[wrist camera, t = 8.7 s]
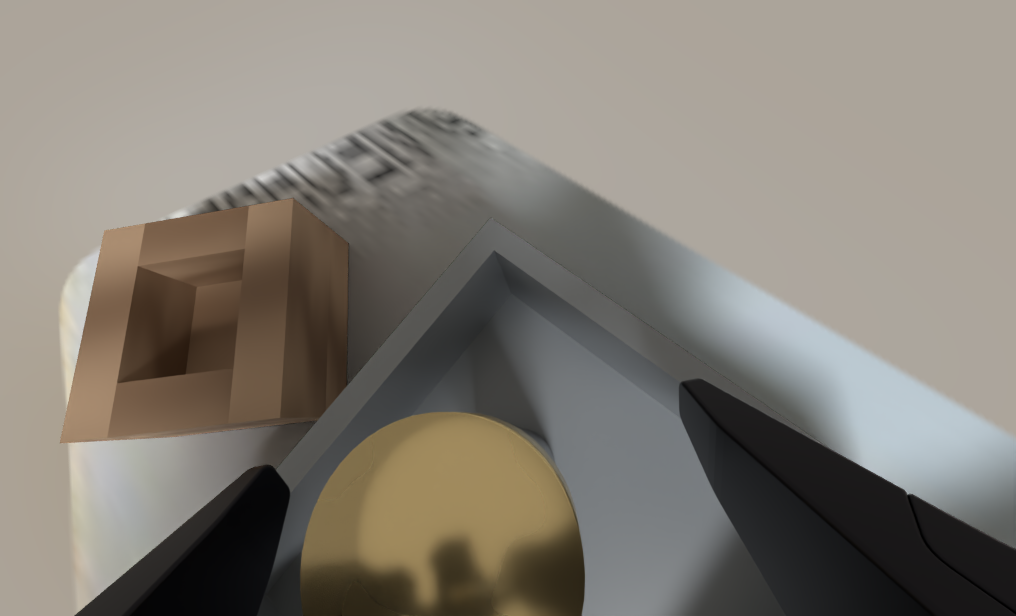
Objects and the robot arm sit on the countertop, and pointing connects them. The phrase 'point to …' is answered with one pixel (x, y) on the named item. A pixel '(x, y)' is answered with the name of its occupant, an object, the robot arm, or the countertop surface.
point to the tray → (551, 428)
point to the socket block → (212, 326)
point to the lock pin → (445, 525)
